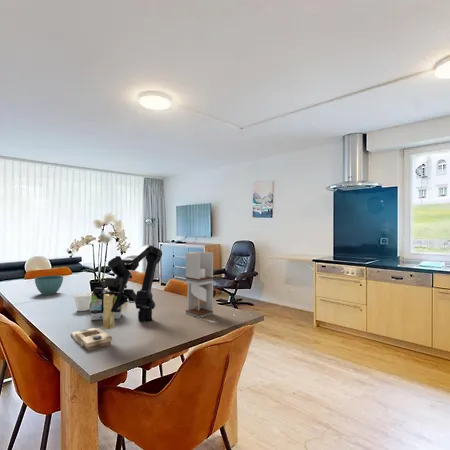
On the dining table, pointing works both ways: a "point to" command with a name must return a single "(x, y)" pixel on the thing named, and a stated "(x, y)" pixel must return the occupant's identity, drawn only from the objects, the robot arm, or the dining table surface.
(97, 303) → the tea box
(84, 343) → the wooden slotted base
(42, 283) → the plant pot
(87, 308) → the cup
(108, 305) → the brass pin
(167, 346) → the dining table surface
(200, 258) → the grey stand
